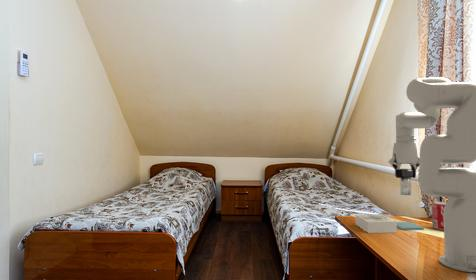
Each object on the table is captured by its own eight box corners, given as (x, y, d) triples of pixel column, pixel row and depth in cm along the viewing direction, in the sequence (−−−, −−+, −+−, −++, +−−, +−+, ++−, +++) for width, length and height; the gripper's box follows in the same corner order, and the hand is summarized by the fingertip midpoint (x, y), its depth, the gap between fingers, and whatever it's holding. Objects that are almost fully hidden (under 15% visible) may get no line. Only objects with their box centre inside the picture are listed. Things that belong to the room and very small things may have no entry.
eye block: (396, 232, 132) (396, 221, 132) (367, 233, 131) (367, 221, 132) (381, 224, 145) (381, 214, 145) (355, 225, 144) (355, 214, 145)
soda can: (453, 229, 136) (453, 203, 136) (446, 232, 132) (446, 205, 132) (436, 225, 142) (435, 200, 142) (429, 228, 138) (429, 202, 138)
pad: (423, 229, 136) (423, 227, 136) (402, 230, 135) (402, 227, 135) (410, 223, 146) (410, 221, 146) (390, 224, 145) (390, 222, 145)
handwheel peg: (408, 193, 144) (407, 168, 144) (416, 195, 138) (416, 169, 138) (395, 193, 144) (395, 168, 144) (403, 195, 138) (402, 169, 138)
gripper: (417, 139, 145) (418, 176, 145) (382, 140, 145) (383, 177, 144) (428, 139, 138) (428, 178, 137) (391, 140, 137) (391, 178, 137)
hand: (405, 177), depth 141 cm, fingers closed on handwheel peg, 6 cm apart
